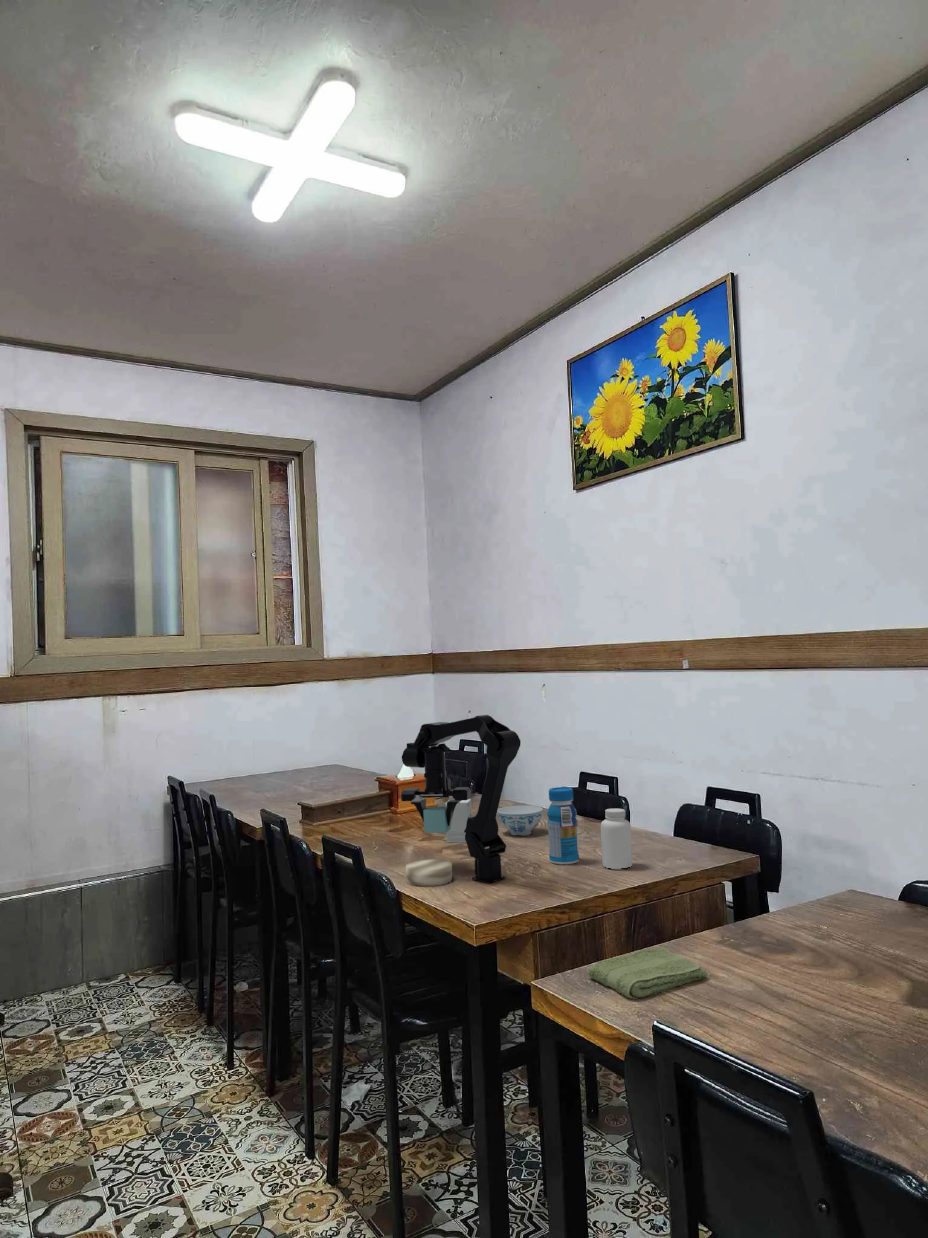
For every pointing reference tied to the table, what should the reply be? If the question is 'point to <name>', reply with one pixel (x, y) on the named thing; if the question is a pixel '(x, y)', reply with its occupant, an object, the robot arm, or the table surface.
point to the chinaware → (520, 818)
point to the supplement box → (459, 822)
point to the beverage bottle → (562, 827)
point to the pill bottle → (616, 840)
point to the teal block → (436, 820)
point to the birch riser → (428, 872)
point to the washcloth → (645, 972)
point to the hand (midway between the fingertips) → (437, 826)
